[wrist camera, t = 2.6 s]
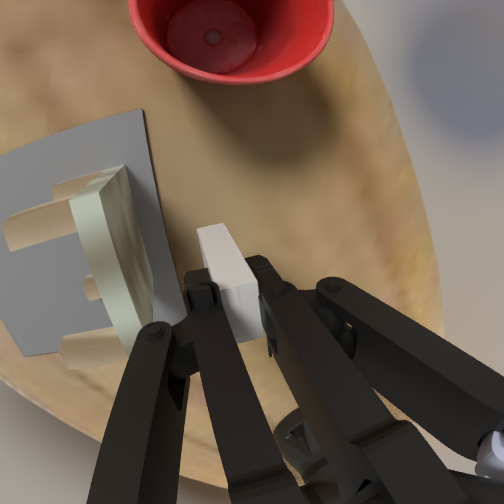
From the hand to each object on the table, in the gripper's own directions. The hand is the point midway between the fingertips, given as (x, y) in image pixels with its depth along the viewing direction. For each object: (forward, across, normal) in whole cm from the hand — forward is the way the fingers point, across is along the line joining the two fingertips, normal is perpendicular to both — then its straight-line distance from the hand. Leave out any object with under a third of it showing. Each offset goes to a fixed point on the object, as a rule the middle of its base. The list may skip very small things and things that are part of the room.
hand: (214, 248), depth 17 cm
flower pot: (+9, -3, -14) cm, 17 cm away
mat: (+9, +13, +1) cm, 16 cm away
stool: (+8, +8, 0) cm, 12 cm away
